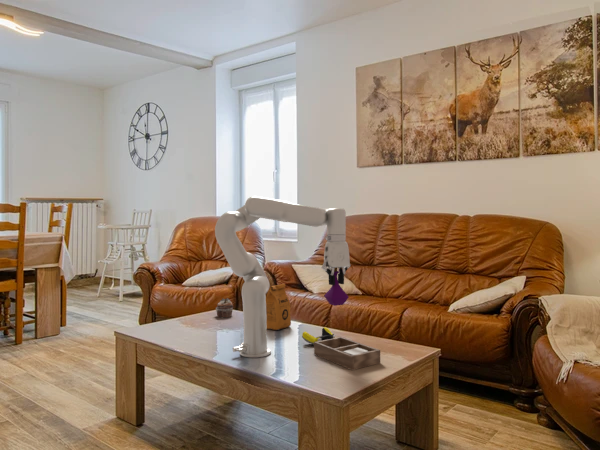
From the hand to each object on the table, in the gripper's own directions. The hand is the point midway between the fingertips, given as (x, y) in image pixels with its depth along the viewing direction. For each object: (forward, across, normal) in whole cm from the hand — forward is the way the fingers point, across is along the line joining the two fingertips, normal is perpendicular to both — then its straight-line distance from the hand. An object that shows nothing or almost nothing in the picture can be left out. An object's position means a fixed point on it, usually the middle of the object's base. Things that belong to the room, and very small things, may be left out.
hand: (336, 283), depth 191 cm
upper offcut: (+27, 0, -12) cm, 29 cm away
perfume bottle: (+8, 0, 0) cm, 8 cm away
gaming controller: (+29, +5, +19) cm, 35 cm away
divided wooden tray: (+29, 0, -6) cm, 29 cm away
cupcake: (+30, -6, +96) cm, 101 cm away
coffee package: (+29, +4, +53) cm, 61 cm away
